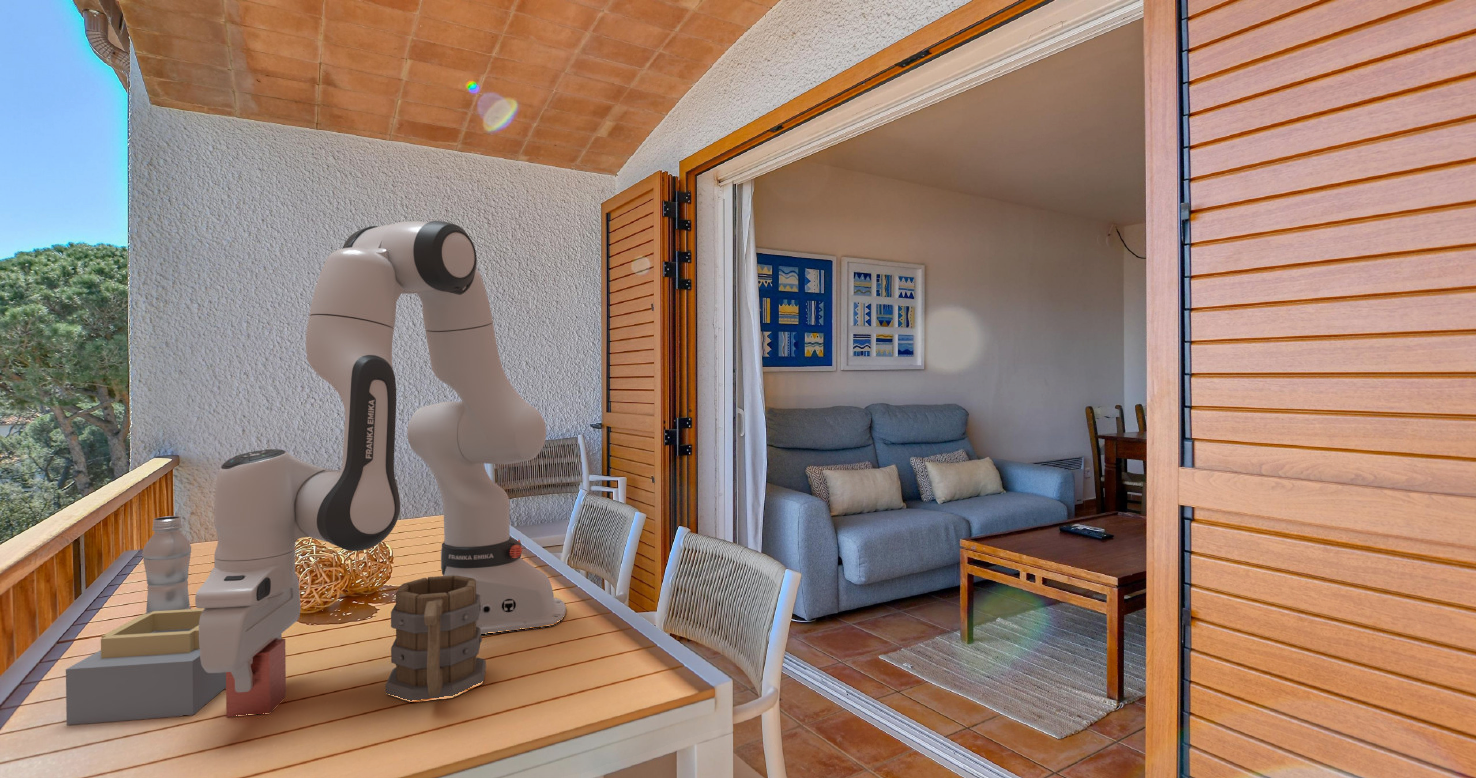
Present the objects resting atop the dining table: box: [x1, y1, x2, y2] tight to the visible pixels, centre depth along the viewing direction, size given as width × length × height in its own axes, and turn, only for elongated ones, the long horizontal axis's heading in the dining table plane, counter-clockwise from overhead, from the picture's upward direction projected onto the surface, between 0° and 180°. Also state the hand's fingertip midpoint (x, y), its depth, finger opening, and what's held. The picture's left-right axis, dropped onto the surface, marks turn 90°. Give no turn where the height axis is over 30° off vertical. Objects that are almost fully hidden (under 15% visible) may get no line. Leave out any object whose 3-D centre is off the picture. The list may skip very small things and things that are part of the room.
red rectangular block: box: [225, 638, 287, 718], centre depth 95 cm, size 7×5×8 cm
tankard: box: [385, 575, 487, 701], centre depth 100 cm, size 20×13×15 cm, turn 16°
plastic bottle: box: [141, 515, 192, 614], centre depth 121 cm, size 6×7×20 cm
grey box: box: [65, 608, 226, 726], centre depth 102 cm, size 14×20×10 cm
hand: (256, 679), depth 96 cm, fingers closed on red rectangular block, 5 cm apart
